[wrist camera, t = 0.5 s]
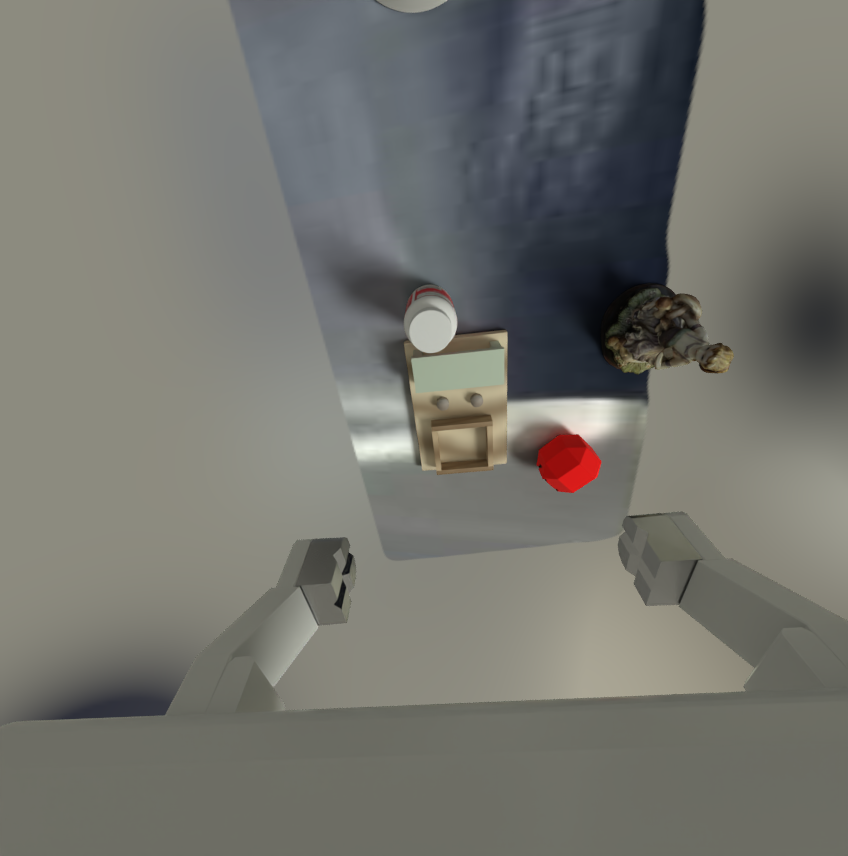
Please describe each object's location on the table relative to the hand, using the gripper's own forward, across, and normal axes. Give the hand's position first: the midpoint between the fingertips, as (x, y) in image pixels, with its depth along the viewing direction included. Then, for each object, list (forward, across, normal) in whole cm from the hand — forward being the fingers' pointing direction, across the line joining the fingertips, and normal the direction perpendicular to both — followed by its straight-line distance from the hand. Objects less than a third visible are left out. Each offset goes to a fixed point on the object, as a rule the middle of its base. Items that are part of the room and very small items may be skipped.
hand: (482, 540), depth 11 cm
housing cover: (+40, -1, +10) cm, 42 cm away
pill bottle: (+42, +2, +2) cm, 42 cm away
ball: (+42, -17, +28) cm, 53 cm away
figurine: (+42, -26, +8) cm, 50 cm away
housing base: (+42, -1, +18) cm, 45 cm away
